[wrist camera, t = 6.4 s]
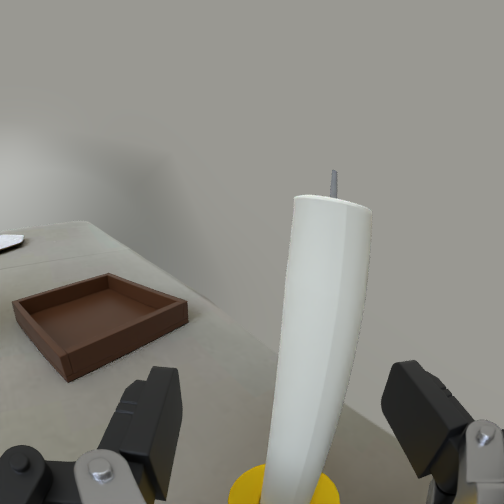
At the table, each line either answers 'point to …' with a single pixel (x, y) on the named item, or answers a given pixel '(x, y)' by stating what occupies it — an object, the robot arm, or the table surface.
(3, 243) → the plate
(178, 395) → the robot arm
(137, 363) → the table surface
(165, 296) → the tray
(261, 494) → the candle
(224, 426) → the table surface
